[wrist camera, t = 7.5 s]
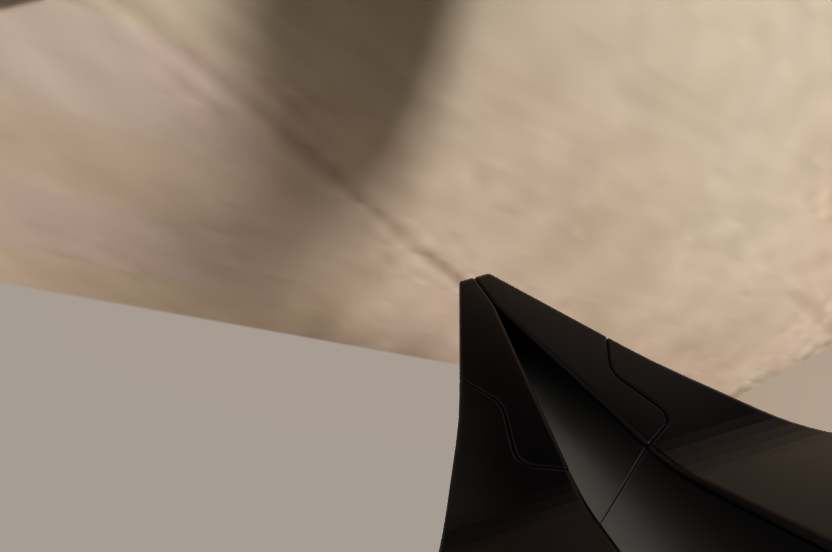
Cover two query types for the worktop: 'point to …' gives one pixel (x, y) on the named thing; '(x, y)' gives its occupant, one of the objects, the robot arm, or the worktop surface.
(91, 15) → the worktop surface
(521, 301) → the robot arm
